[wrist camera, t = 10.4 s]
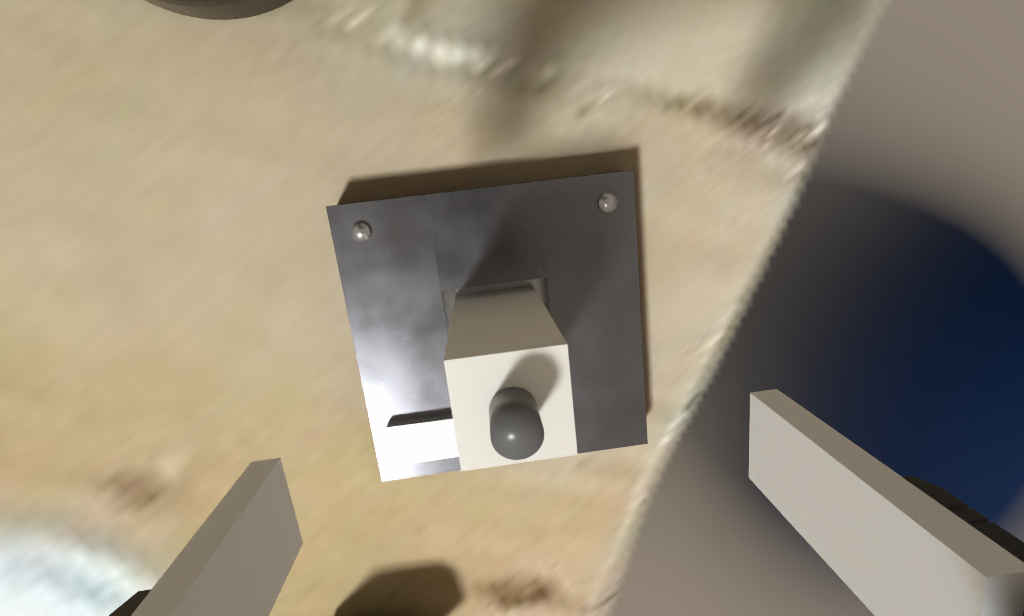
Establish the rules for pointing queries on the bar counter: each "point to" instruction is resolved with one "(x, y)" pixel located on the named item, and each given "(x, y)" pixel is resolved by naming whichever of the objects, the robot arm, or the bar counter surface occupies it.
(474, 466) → the plug
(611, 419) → the socket
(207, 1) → the robot arm
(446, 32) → the bar counter surface
